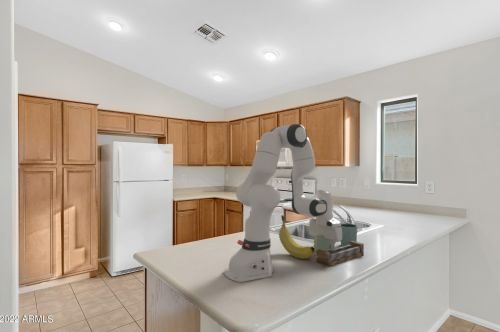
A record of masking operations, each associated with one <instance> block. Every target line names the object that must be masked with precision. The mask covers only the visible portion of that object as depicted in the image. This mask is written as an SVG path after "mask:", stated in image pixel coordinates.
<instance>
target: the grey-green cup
mask: <svg viewBox="0 0 500 332" xmlns="http://www.w3.org/2000/svg"><path fill="white" fill-rule="evenodd" d="M340 227H341V229H342V240H341V241H340V245H341V246H340V247H343V246H347V245H350V241H355V242H358V241H357V239H358V238H357V237H358V224H353V223H341V226H340Z"/></svg>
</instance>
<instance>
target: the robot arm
mask: <svg viewBox="0 0 500 332" xmlns="http://www.w3.org/2000/svg"><path fill="white" fill-rule="evenodd" d="M311 143H312V142H311V141H310V139H309V137H308V132H307V129H306V128H305V127H304V126H303V125H302V124H298V123H293V124H283V125H280V126H276V127H274V128H272V129H271V130H269V131H266V132H264V133H263V134H262V135H261V137H260V140H259V142H258V143H257V147H256V150H255V155H254V158H253V162H252V164H251V168H250V170H249V173H248V174H247V176H246V177H245V179H244V181H243V182H242V183H241V185H239V186H238V188H237V189H236V192H235V195H236V199H237V201H238V202H239V203H241V204H243V205H244V206H245V207H246V206H247V207H250V214H249V216H248V217H247V218H246V220H245V222H244V231H245V232H244V239H243V240H241V239H238V240H237V242H236V243H237V245H240V246H241V248H239V250H237V252H236V253H234V254H233V255H232V256H231V258H230V259H229V263H228V268H225V269H224V270H223V274H224V276H225V277H226V278H228V279H230V280H231V281H234V282H237V283H244V282H248V281H254V280H260V279H265V278H269V277H272V276H273V274H272V273H273V272H274V267H273V266H274V265H273V263H272V257H271V247H272V246H271V245H272V244H271V238H270V235H271V233H270V232H271V229H270V228H271V227H270V225H271V219H272V215H273V212H274V210H275V209H277V207H278V206H279V205H280V203H281V202H280V201H281V193H280V191H279V190H278V188H276V187H275V186H273V185H271V184H267V183H269V181H270V180H271V178H273V177H274V175H275V174H276V172H277V167H278V164H279V159H280V155H281V150H282V148H283V149H289V150H290V151H291V159H292V170H291V173H290V181H291V194H292V195H291V196H292V198H291V209H292V211H293V212H294V213H295V214H297V215H302V216H303V215H304V216H309V217H312V218H310V219H309V224H308V234H309V235H310V236H313V237H314V236H317V235H323V236H324V239H328V240H331V243H332V244H331V245H329V248H330V249H335V245H336V243H338V242H340V243H341V240H342V229H341V227H340V226H341V224H342V222H341V221H340V220H338V219H337V218H335V217H334V214H333V207H334V200H333V195H332V192H331V191H328V190H321V189H320V190H316V193H314V195H312V196H305V195H304V184H303V181H304V179H305V177H306V176H309V175H310V174H311V173H312V172H314V170H315V168H316V159H315V158H316V157H315V153H314V149H313V147H312V144H311ZM313 217H315V218H313Z"/></svg>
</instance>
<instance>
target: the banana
mask: <svg viewBox="0 0 500 332" xmlns="http://www.w3.org/2000/svg"><path fill="white" fill-rule="evenodd" d="M281 220H282V221H281V222H282V225H281V227H280V228H279V231H278V237H279V242H280V243H281V245H282V246H283V248H284V249H285V250H286V251H287V253H288V254H290V255H291V256H292V257H294V258H297V259H300V260H301V259H302V260H306V259H310V258H311V257H313V256H314V246H302V245H300V244H298V243H297V242H296V241H295V240H294V239H293V236H291V233H290V231H289V229H288V227H287V226H286V224H285V223H286V222H285V221H286V218H285V216H284V215H283V214H282V215H281Z"/></svg>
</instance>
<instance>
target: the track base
mask: <svg viewBox="0 0 500 332" xmlns="http://www.w3.org/2000/svg"><path fill="white" fill-rule="evenodd" d="M364 249H365V246H364V243H363V242H359V241H357V242H355V241H350V245H347V246H340V247H336V248H334V249H332V250H329V251H323V250H320V249H319V250H317V256H316V264H317V263H318V264H320V265H323V266H325V267H332V266H335V265H339V264H340V263H341V264H342V263H344V262H347V261H350V260H353V259H356V258H359V257H362V256H364V255H365V254H364Z"/></svg>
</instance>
